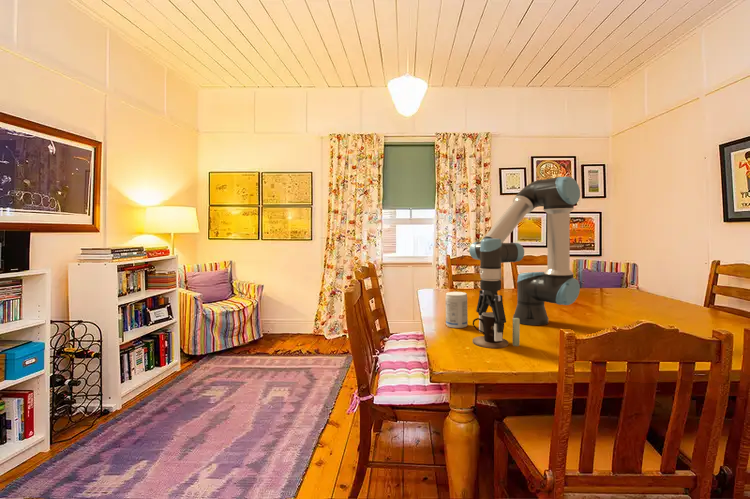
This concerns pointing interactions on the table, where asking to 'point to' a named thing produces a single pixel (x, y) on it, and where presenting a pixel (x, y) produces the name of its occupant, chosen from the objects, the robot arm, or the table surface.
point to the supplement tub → (456, 309)
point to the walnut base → (482, 343)
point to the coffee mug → (488, 327)
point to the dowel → (516, 331)
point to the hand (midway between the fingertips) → (490, 336)
